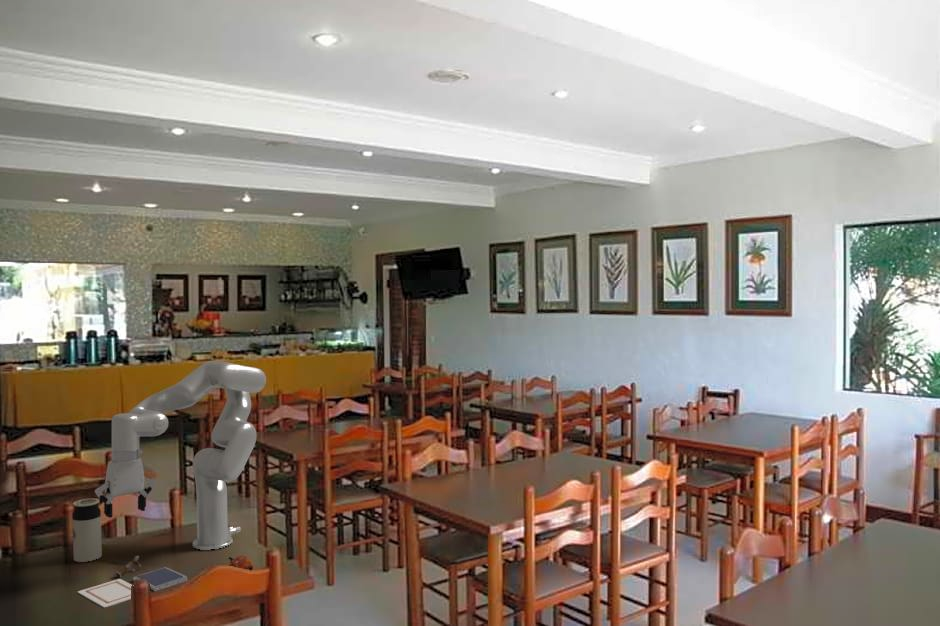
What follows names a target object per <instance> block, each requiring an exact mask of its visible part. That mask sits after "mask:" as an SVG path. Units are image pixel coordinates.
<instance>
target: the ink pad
mask: <svg viewBox="0 0 940 626" xmlns="http://www.w3.org/2000/svg"><path fill="white" fill-rule="evenodd" d="M140 578H142V579H146V580H147V581H148V582H149V584H150V587H151V589H152V590H153V591H152V590H151V591H152V592H157V591H160V590H163V589H166V588H169V587H173V586H176V585H178V584H182V583H185V582H188V576H186V575H185V574H183V573H180V572H178V571H175V570H173V569H172V568H169V567H166V566H164V567H162V568H161V567H160V568H158V569H155V570H151V571H149V572H145V573H142V574H141V573H140V574H138V575H134V576H133V577H132V579H133V582H134V580H136V579H140Z"/></svg>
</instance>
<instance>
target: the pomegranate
mask: <svg viewBox="0 0 940 626" xmlns="http://www.w3.org/2000/svg"><path fill="white" fill-rule="evenodd" d="M227 560H230V562H229V564H228V566H234V567H238V568H243V569H249V570H251V571H252V570H253V569H254V565H255V564H254V562H253V561H252V560H251V558H249V557H248V556H244V555H239V556H237V557H235V558H233V557H231V556H229V557H228V558H227Z"/></svg>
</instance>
